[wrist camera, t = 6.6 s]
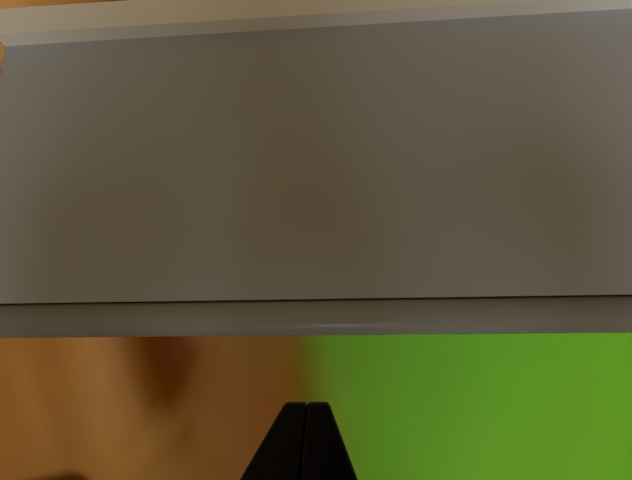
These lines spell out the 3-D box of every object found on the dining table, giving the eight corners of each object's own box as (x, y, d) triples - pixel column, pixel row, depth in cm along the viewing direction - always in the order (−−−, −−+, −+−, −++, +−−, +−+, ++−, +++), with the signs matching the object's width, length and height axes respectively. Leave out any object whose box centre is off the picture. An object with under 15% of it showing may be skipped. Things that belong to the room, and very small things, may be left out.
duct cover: (722, 332, 12) (767, 330, 11) (-24, 338, 14) (-64, 337, 13) (652, -5, 15) (682, -40, 14) (25, 34, 17) (-3, 6, 15)
